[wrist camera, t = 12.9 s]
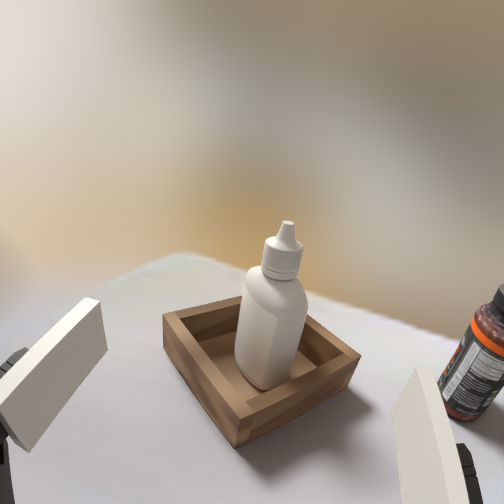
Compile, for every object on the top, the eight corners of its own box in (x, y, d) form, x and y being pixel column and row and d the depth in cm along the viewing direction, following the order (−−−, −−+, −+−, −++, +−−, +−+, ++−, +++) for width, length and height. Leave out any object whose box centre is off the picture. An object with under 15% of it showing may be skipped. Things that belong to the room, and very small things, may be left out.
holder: (347, 386, 24) (361, 355, 22) (234, 448, 17) (240, 419, 16) (267, 317, 32) (273, 287, 30) (163, 347, 25) (162, 314, 24)
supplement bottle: (446, 371, 26) (496, 271, 21) (488, 400, 21) (548, 301, 17) (421, 399, 22) (483, 286, 18) (469, 434, 18) (546, 324, 13)
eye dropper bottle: (226, 388, 22) (249, 232, 17) (235, 341, 27) (255, 205, 22) (286, 396, 22) (329, 245, 17) (285, 348, 27) (317, 215, 22)
